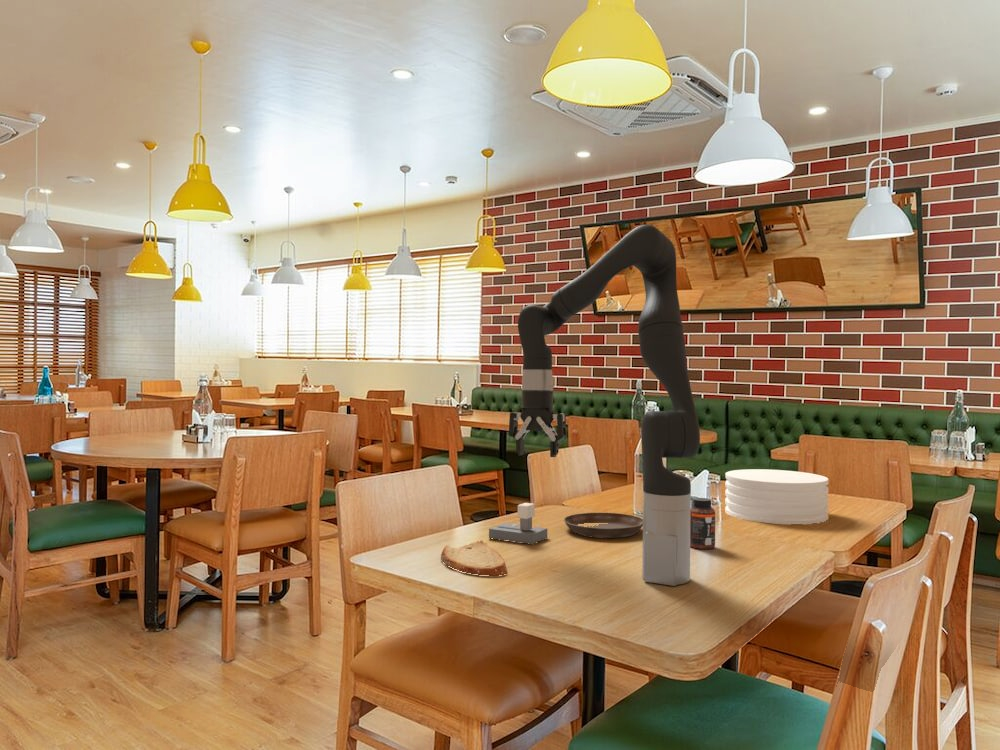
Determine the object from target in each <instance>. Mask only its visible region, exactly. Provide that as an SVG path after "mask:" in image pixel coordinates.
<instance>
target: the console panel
mask: <svg viewBox="0 0 1000 750" xmlns="http://www.w3.org/2000/svg"><path fill="white" fill-rule="evenodd" d="M489 538H493V539H500V540H509V541H515V542H522V543H529V544H534V543H536V542H538V541H541V540H543V539H545V538H547V539H548V528H547V527H542V526H533V525H532V529H530V530H528V531H526V530H520V524H515V523H509V522H503V523H501V524H497V525H495V526H492V527H490V528H488V539H489ZM493 539H492V540H493ZM500 540H499V541H500ZM545 540H546V539H545ZM543 541H544V540H543ZM541 542H542V541H541ZM536 544H537V543H536ZM534 545H535V544H534Z"/></svg>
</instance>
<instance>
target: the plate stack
mask: <svg viewBox="0 0 1000 750" xmlns="http://www.w3.org/2000/svg"><path fill="white" fill-rule="evenodd" d="M724 474H725V479H726V480H725V484H724V485H725V486H724V487H725V492H724V494H725V496H726V497H725V499H724V504H725V505H726V506H725V507H724V509H725V511H724V512H725V514H727V515H729V516H730V517H731V516H732V517H734V518H737V519H741V520H745V521H751V522H757V523H764V524H775V525H791V524H803V525H813V524H812V523H817V524H821V523H820V522H822V523H825V522H827V521H829V514H828V512H829V504H828V503H829V496H828V495H827V494H829V487H828V485H829V483H830V482H829V481H830V480H829V477H827V476H824V475H822V474H821V475H820V474H815V473H813V472H812V473H811V472H805V471H798V470H796V471H795V470H785V469H783V470H782V469H766V468H765V469H763V468H762V469H760V468H757V469H756V468H755V469H753V468H752V469H747V468H746V469H745V468H744V469H733V470H729V471H727V472H725V473H724ZM826 520H827V521H826ZM824 521H825V522H824Z"/></svg>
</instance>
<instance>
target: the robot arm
mask: <svg viewBox="0 0 1000 750" xmlns="http://www.w3.org/2000/svg"><path fill="white" fill-rule="evenodd" d="M630 267H635V268H636V269H637V270H638V271H640V274H641V276H642V280H643V286H644V291H645V301H644V305H643V307H642V309H641V313H640V316H639V320H638V326H637V330H638V332H637V333H638V343H639V350H640V351H639V352H640V356H641V358H642V360H643V362H644V363H645V365H646V366H647V367H648V369H649V370H650V372H651V373H652V374H653V375H654V376H655V377H656V379H657V380H658V381H659V382H660V384H661V385H662V386H663V387H664V389H665V390H666V392H667V394H668V397H669V398H670V401H671V404H672V408H673V411H672V410H666V411H665V410H655V411H653V410H651V411H647V412H646V413H645V414H644V416H643V418H642V421H641V427H640V431H641V432H640V436H641V437H640V439H641V440H640V441H641V442H640V443H641V456H642V457H641V458H642V469H641V470H642V473H641V474H642V519H643V526H642V556H641V557H642V568H641V569H642V572H641V573H642V579H643V581H644V582H647V583H654V584H659V585H665V586H670V587H671V586H672V587H676V586H677V585H683V584H687V583H689V582H690V581H691V546H690V512H691V508H692V506H691V504H692V502H691V501H692V497H691V496H692V495H691V493H692V492H691V491H692V486H691V485H692V482H691V480H690V479H689V478H688V477H687V476H685V475H682V474H679V473H675V472H673V471H671V470H670V469H668V468H666V467H665V465H664V461H663V459H664V458H665V459H667V458H668V459H669V458H671V459H674V458H677V459H681V458H692V457H695V456H696V455H697V454H698V452H699V449H700V446H701V444H700V443H701V433H700V425H699V419H698V415H697V409H696V406H695V402H694V396H693V391H692V386H691V384H690V383H691V382H690V378H689V377H690V376H689V370H688V361H687V352H686V341H685V333H684V326H683V321H682V315H681V307H680V302H679V295H678V286H677V285H678V284H677V253H676V248H675V245H674V244H673V242H672V241H671V239H670V238H669V237H667V236H666V235H665V233H663V232H662V231H661V230H659V228H657V227H655V226H653V224H642V225H639V226H637V227H635V228H633V229H632V230H630V231H628V233H626V234H625V235H624V236H623V237H622V238H621V239H620V240H619V241H617V242H616V243H615V244H614V246H612V247H611V248H610V249H609V250H607V251H606V252H605V253H604V254H603V255H602V256H601V257H599V259H598V260H596V262H595V263H594V264H593V265H591V266H590V267H589V268H588V269H586V270H585V271H584V272H583V273H581V274H580V275H579V276H577V277H575V278H574V279H573V280H571V281H569V282H567V284H565V285H563V286H562V287H560V288H558V289H557V290H556V291H555V292H554V293H552V295H551V297H550V301H549V302H548V303H547V304H545V305H543V306H541V305H535V304H529V305H528V304H527V305H526V306H524V307H523V308H522V309H521V311H520V312H519V315H518V319H517V330H518V336H519V340H520V344H521V348H522V352H523V353H522V354H523V356H522V359H523V360H522V366H523V367H522V375H521V408H522V409H521V412H518V411H512V412H510V413H509V423H508V436H509V437H511V438H512V439H513V438H514V439H515V440H516V441H515V452H516V454H517V455H518V456H524V455H525V439H524V438H525V436H526V435H527V434H529V432H530V431H532V432H533V431H534V432H535V431H537V432H544V433H545V434H546V435H547V436H548V437H549V439H550V440H551V441H549V442H550V443H549V457H550V458H557V456H558V454H559V447H560V445H559V442H560V441H561V440H563V439H566V438H567V434H568V433H567V421H566V420H567V419H566V418H567V417H566V414H565V413H562V412H561V413H556V414H555V413H554V412H553V411H554V410H553V409H554V377H553V351H552V348H551V347H550V346H549V345H547V343H546V339H545V336H549V335H551V334H553V333H555V332H556V331H558V330H560V328H561V327H562V326H563V325H564V324H565V323H566V322H568V320H569V319H570V318H571V317H573V316H575V315H576V314H578V313H580V312H581V311H583V310H585V309H586V308H588V307H589V306H590V305H592V304H593V303H594V302H595V301H596V300H597V299H598V298H599V297H600V296H601V295H602V293H603V292H604V290H605V289H606V287H607V286H608V284H609V283H610V281H611V280H612V279H613V278H614V277H616V276H617V275H618V274H620V273H621V272H623V271H625V270H627V269H629V268H630ZM520 420H521V421H522V422H523V423H522V425H521V426H520V427H519V422H520ZM554 420H555V423H557V430H556V428H555V427H554V426H553V424H552V422H553V421H554ZM518 428H519V429H518Z"/></svg>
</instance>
